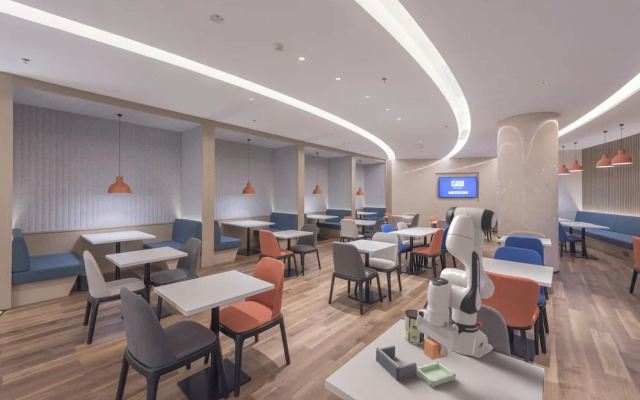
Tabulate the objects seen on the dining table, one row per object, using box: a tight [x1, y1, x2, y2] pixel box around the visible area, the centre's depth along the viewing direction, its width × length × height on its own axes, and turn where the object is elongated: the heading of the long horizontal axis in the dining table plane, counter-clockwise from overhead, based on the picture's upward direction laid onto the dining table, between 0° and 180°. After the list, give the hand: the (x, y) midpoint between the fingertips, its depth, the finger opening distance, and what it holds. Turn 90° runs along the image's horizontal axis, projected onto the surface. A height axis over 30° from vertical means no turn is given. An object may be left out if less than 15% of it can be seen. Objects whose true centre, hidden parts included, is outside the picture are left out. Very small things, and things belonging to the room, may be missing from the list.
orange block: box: [423, 338, 448, 361], centre depth 117 cm, size 8×4×6 cm, turn 113°
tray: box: [415, 361, 457, 389], centre depth 117 cm, size 13×10×2 cm
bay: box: [375, 345, 418, 382], centre depth 122 cm, size 10×15×6 cm
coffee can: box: [403, 309, 425, 346], centre depth 147 cm, size 10×10×14 cm
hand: (435, 350), depth 117 cm, fingers closed on orange block, 4 cm apart
